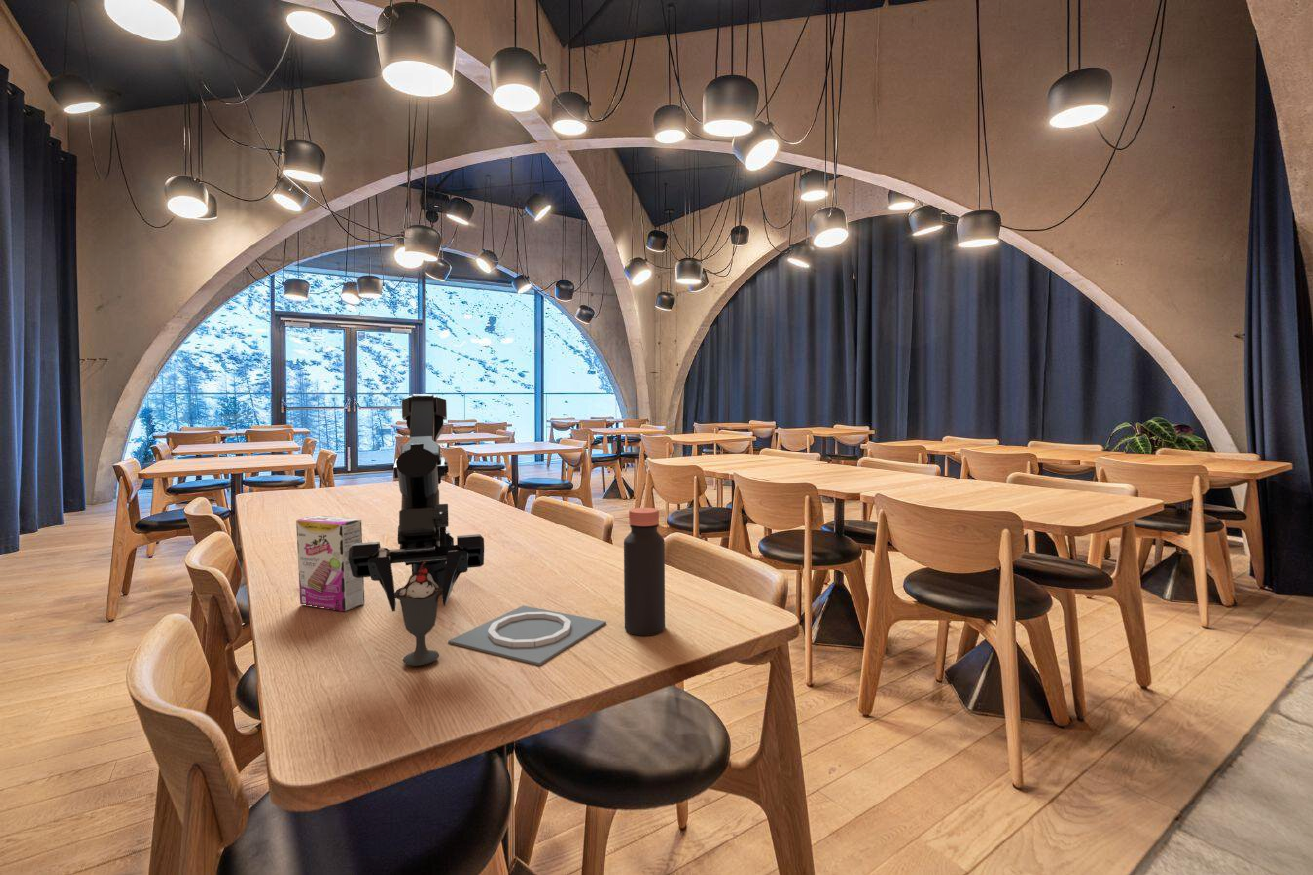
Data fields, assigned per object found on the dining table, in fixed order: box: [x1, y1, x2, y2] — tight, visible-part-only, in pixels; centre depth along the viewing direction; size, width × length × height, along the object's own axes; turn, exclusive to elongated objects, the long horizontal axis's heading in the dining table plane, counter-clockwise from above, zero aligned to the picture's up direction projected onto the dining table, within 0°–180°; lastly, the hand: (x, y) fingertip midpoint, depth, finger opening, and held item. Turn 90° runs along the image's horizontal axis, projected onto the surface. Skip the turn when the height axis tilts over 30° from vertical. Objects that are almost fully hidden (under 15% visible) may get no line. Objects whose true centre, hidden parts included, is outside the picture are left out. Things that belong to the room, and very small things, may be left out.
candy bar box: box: [295, 515, 365, 612], centre depth 112 cm, size 11×5×16 cm, turn 71°
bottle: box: [623, 507, 666, 637], centre depth 99 cm, size 7×7×20 cm
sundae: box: [394, 560, 443, 667], centre depth 87 cm, size 7×7×15 cm
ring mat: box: [447, 605, 607, 666], centre depth 98 cm, size 18×18×1 cm
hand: (419, 607), depth 86 cm, fingers closed on sundae, 6 cm apart
